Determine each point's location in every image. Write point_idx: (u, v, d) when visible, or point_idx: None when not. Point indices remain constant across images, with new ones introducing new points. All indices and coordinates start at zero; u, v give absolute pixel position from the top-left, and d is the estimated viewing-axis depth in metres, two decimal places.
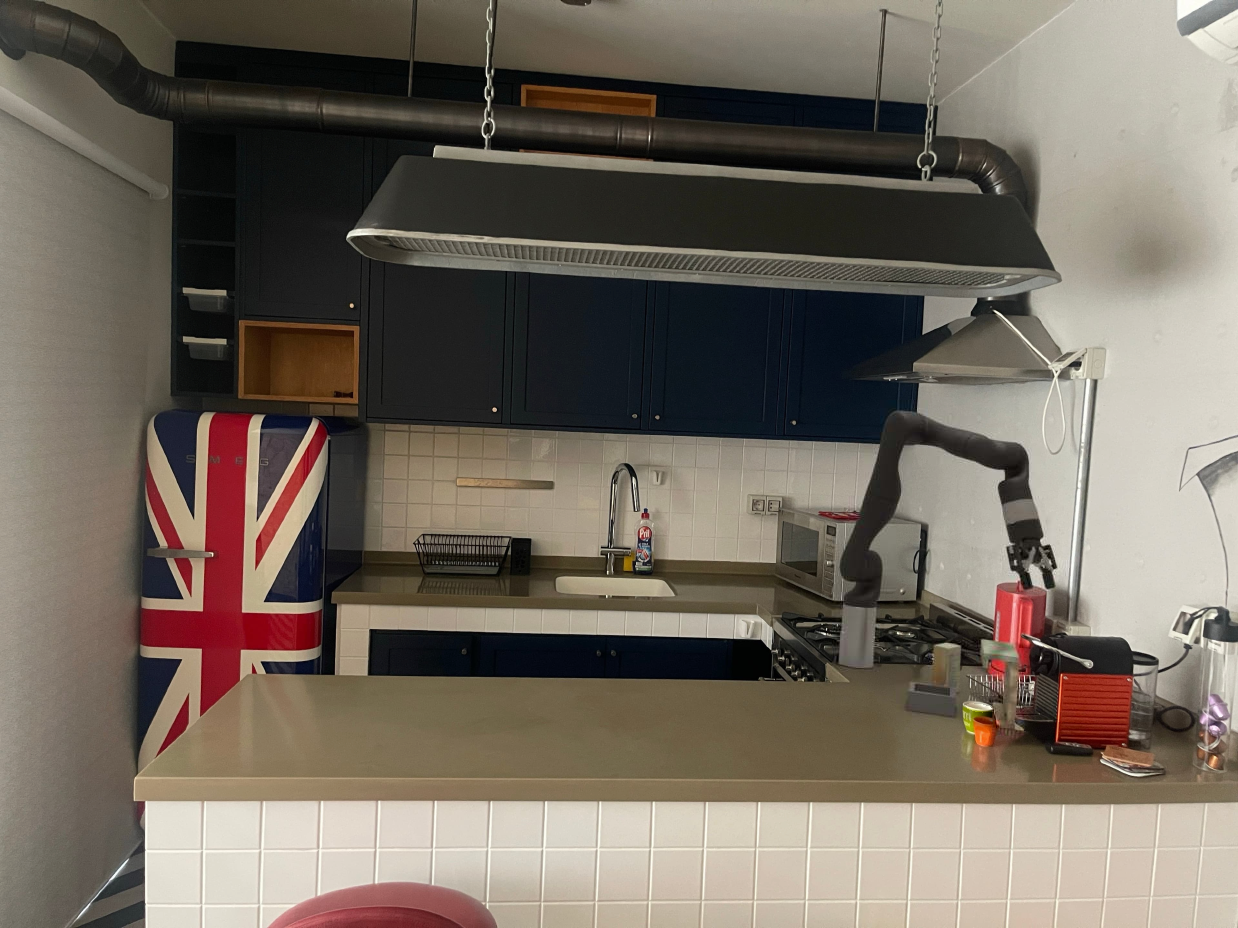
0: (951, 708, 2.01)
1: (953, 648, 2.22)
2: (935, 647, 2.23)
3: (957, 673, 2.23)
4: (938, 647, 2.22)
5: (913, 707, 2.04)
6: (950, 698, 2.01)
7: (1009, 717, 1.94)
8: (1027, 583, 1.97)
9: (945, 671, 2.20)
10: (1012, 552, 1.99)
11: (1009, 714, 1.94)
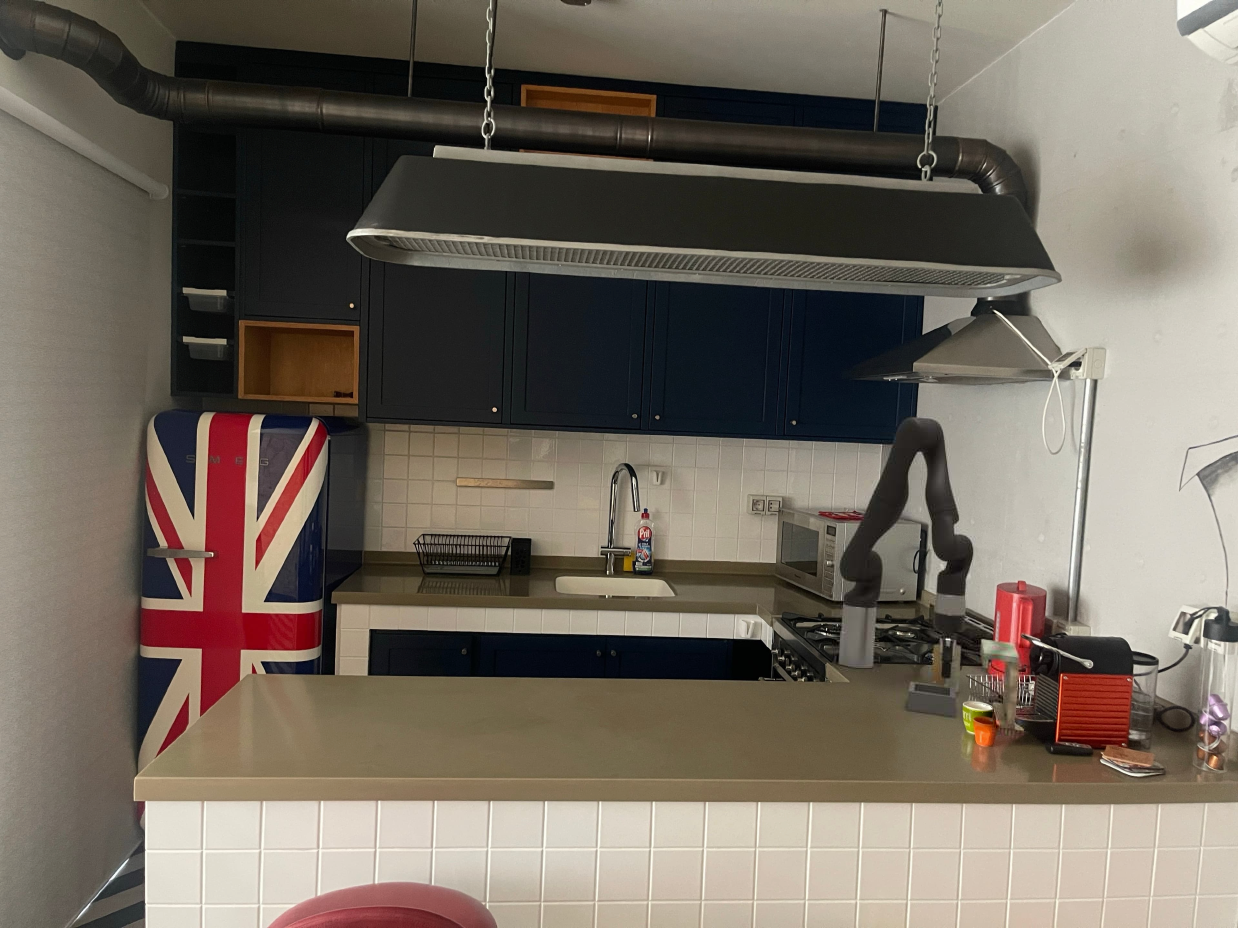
0: (951, 708, 2.01)
1: None
2: (935, 647, 2.23)
3: (957, 673, 2.23)
4: (938, 647, 2.22)
5: (913, 707, 2.04)
6: (950, 698, 2.01)
7: (1009, 717, 1.94)
8: (948, 673, 2.19)
9: None
10: (948, 646, 2.17)
11: (1009, 714, 1.94)
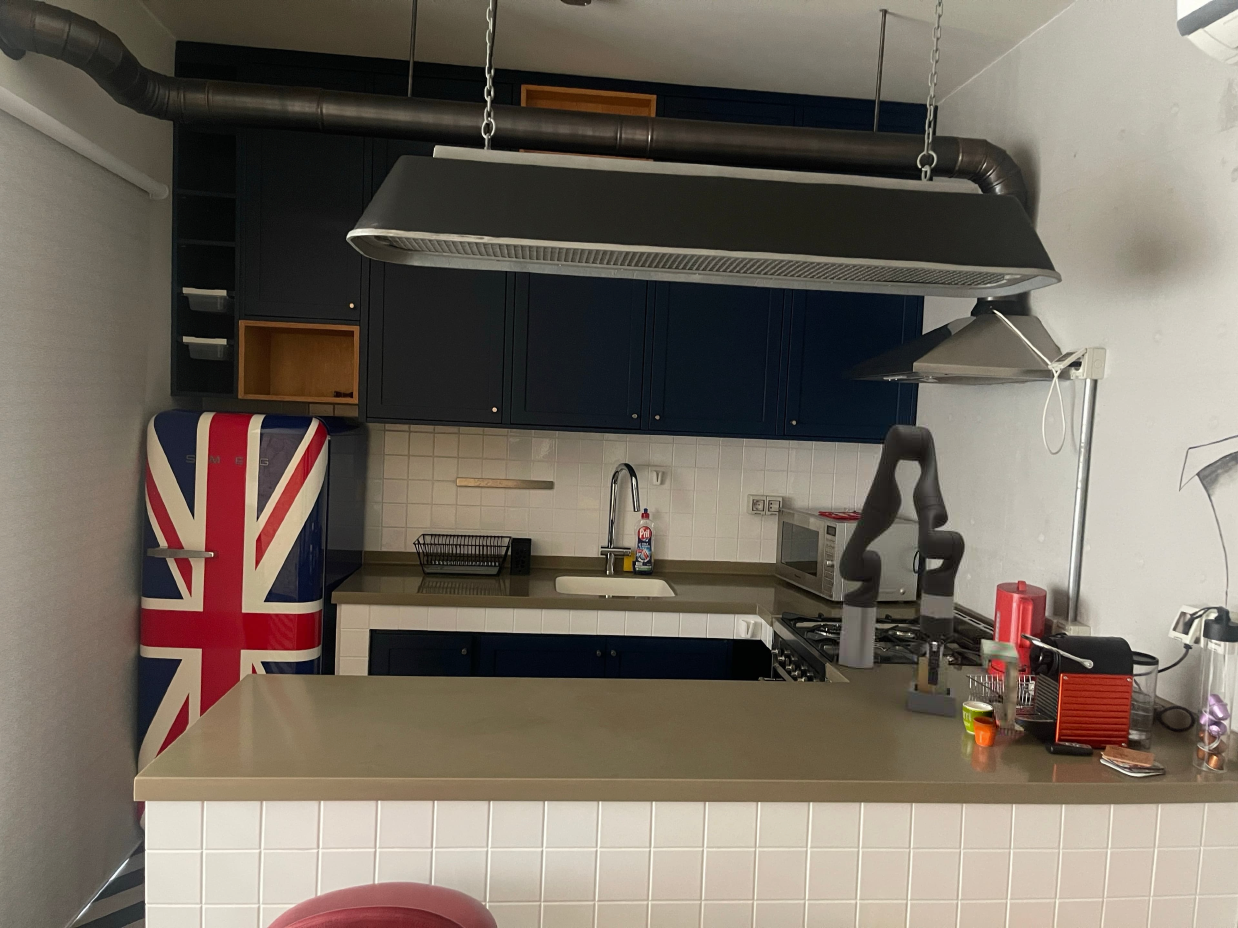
0: (951, 708, 2.01)
1: (940, 661, 2.05)
2: (921, 660, 2.06)
3: (944, 688, 2.06)
4: (924, 660, 2.05)
5: (913, 707, 2.04)
6: (950, 698, 2.01)
7: (1009, 717, 1.94)
8: (935, 680, 2.02)
9: (931, 686, 2.03)
10: (935, 650, 2.00)
11: (1009, 714, 1.94)
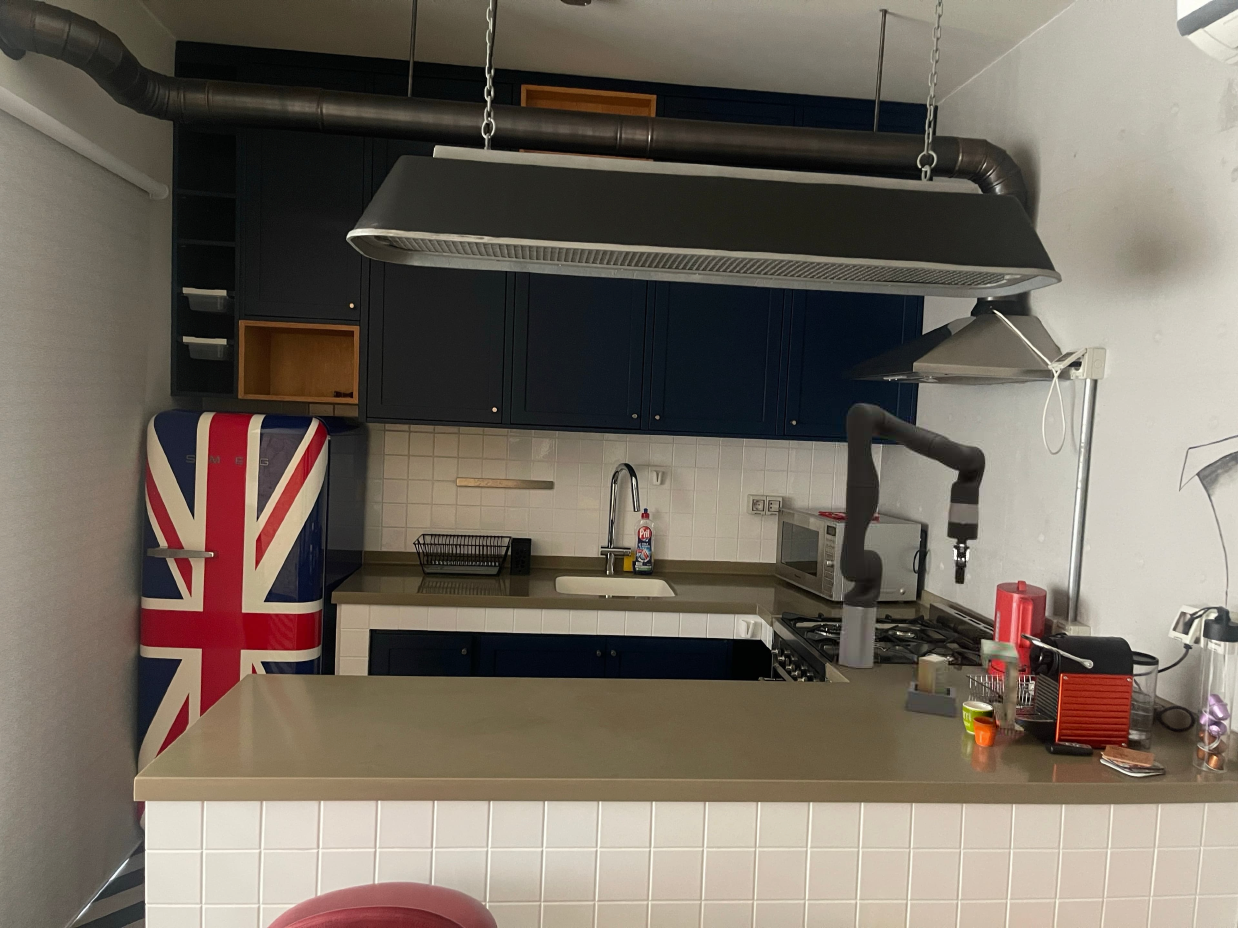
0: (951, 708, 2.01)
1: (940, 661, 2.05)
2: (920, 660, 2.06)
3: (944, 688, 2.06)
4: (924, 660, 2.05)
5: (913, 707, 2.04)
6: (950, 698, 2.01)
7: (1009, 717, 1.94)
8: (962, 579, 2.24)
9: (931, 686, 2.03)
10: (962, 551, 2.22)
11: (1009, 714, 1.94)
